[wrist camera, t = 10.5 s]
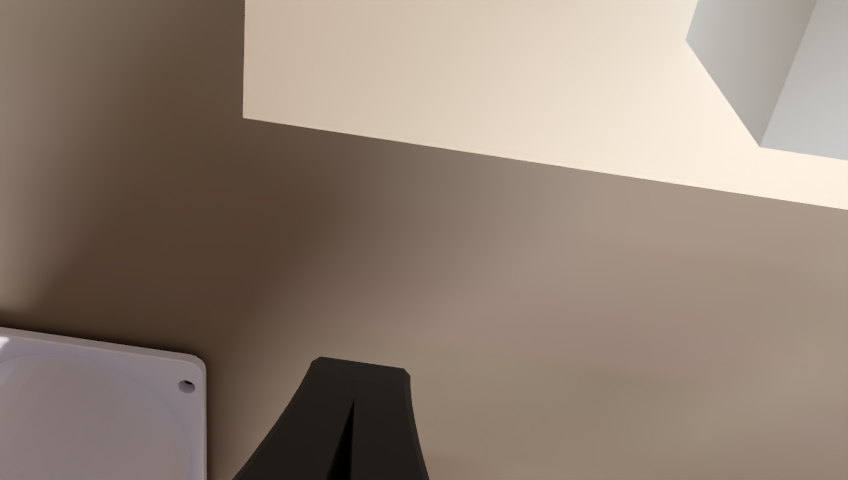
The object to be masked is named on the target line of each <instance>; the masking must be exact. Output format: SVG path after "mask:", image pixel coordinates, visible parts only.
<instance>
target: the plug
mask: <svg viewBox="0 0 848 480" xmlns="http://www.w3.org/2000/svg"><path fill="white" fill-rule="evenodd" d="M686 42H687V43H688V45H689V46H690V48H691V49H692V51H693V52H694V53H695V55H696V56H697V58H698V59H699V61H700V62H701V64H702V65H703V66H704V68H705V69H706V71H707V72H708V74H709V75H710V77H711V78H712V79H713V81H714V82H715V84H716V85H717V87H718V88H719V90H720V91H721V92H722V94H723V95H724V97H725V98H726V100H727V101H728V102H729V104H730V105H731V107H732V108H733V110H734V111H735V113H736V114H737V115H738V117H739V118H740V120H741V121H742V123H743V124H744V126H745V127H746V128H747V130H748V131H749V133H750V134H751V136H752V137H753V139H754V140H755V141H756V143H757V144H758V146H759V147H762V148H768V149H775V150H782V151H788V152H795V153H801V154H808V155H815V156H821V157H828V158H834V159H841V160H847V161H848V0H698V2H697V5H696V8H695V11H694V14H693V18H692V21H691V24H690V27H689V30H688V33H687V37H686Z"/></svg>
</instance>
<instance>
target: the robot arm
mask: <svg viewBox="0 0 848 480" xmlns="http://www.w3.org/2000/svg"><path fill="white" fill-rule="evenodd" d="M185 380H186V381H189V382H191V383H192V384H194V385H190V384H187V383H185V382H184V381H185ZM0 480H207V428H206V367H205V364H204V363H203V361H202V360H201V359H199V358H198V357H196V356H193V355H190V354H184V353H177V352H170V351H163V350H156V349H149V348H142V347H135V346H128V345H121V344H115V343H108V342H101V341H94V340H87V339H80V338H73V337H66V336H59V335H52V334H45V333H39V332H32V331H25V330H18V329H11V328H4V327H0ZM232 480H429V476H428V473H427V469H426V466H425V462H424V459H423V455H422V451H421V447H420V443H419V438H418V434H417V429H416V424H415V419H414V413H413V407H412V400H411V389H410V375H409V374H408V373H407V372H406V370H405V369H403V368H396V367H389V366H382V365H375V364H369V363H362V362H355V361H348V360H341V359H334V358H327V357H319V358H317V359H315V360H314V361H312V363H311V365H310V367H309V369H308V371H307V373H306V375H305V377H304V379H303V381H302V382H301V384H300V386H299V388H298V389H297V391H296V393H295V394H294V396H293V398H292V399H291V401H290V402H289V404H288V405H287V407H286V408H285V410H284V411H283V413H282V414H281V416H280V417H279V419H278V420H277V422H276V423H275V425H274V426H273V427H272V429H271V430H270V431H269V433H268V434H267V436H266V437H265V438H264V440H263V441H262V442H261V444H260V445H259V446H258V448H257V449H256V450H255V452H254V453H253V455H252V456H251V457H250V458H249V460H248V461H247V462H246V464H245V465H244V466H243V467H242V469H241V470H240V471H239V472H238V473H237V474H236V476H235V477H234V478H233V479H232Z"/></svg>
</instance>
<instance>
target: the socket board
mask: <svg viewBox="0 0 848 480" xmlns="http://www.w3.org/2000/svg"><path fill="white" fill-rule="evenodd" d="M697 2H698V0H245V34H244V83H243V118H247V119H254V120H261V121H267V122H274V123H280V124H287V125H294V126H300V127H307V128H313V129H320V130H326V131H333V132H340V133H346V134H353V135H359V136H366V137H373V138H379V139H386V140H392V141H399V142H406V143H412V144H419V145H425V146H432V147H438V148H445V149H452V150H458V151H465V152H471V153H478V154H485V155H491V156H498V157H504V158H511V159H517V160H524V161H531V162H537V163H544V164H550V165H557V166H564V167H570V168H577V169H583V170H590V171H597V172H603V173H610V174H616V175H623V176H629V177H636V178H643V179H649V180H656V181H662V182H669V183H676V184H682V185H689V186H695V187H702V188H708V189H715V190H722V191H728V192H735V193H741V194H748V195H755V196H761V197H768V198H774V199H781V200H788V201H794V202H801V203H807V204H814V205H820V206H827V207H834V208H840V209H847V210H848V161H847V160H841V159H834V158H828V157H821V156H815V155H808V154H801V153H795V152H788V151H782V150H775V149H768V148H762V147H759V146H758V144H757V143H756V141H755V140H754V139H753V137H752V136H751V134H750V133H749V131H748V130H747V128H746V127H745V126H744V124H743V123H742V121H741V120H740V118H739V117H738V115H737V114H736V113H735V111H734V110H733V108H732V107H731V105H730V104H729V102H728V101H727V100H726V98H725V97H724V95H723V94H722V92H721V91H720V90H719V88H718V87H717V85H716V84H715V82H714V81H713V79H712V78H711V77H710V75H709V74H708V72H707V71H706V69H705V68H704V66H703V65H702V64H701V62H700V61H699V59H698V58H697V56H696V55H695V53H694V52H693V51H692V49H691V48H690V46H689V45H688V43H687V42H686V37H687V33H688V30H689V27H690V24H691V21H692V18H693V14H694V11H695V8H696V5H697Z"/></svg>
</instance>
